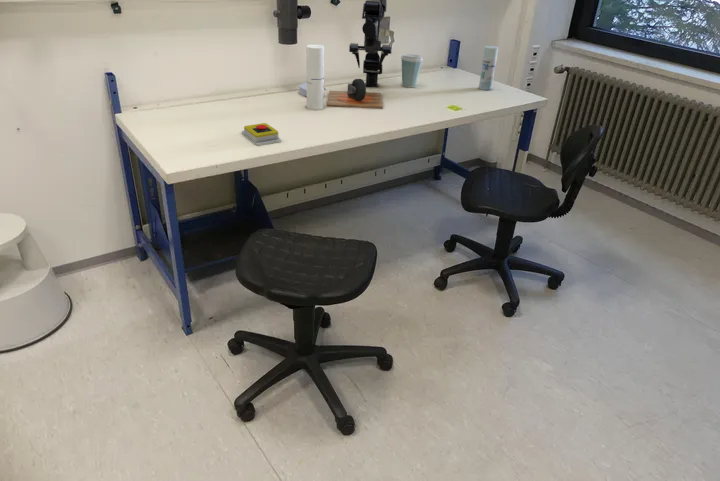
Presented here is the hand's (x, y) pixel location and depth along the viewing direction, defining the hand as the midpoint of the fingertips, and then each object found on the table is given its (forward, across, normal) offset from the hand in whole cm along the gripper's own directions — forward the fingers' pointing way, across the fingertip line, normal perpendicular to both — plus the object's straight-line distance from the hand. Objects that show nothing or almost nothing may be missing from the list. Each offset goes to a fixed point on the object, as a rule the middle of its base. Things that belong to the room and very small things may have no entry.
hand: (369, 68), depth 243 cm
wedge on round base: (+12, -26, -4) cm, 29 cm away
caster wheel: (+11, -6, -10) cm, 16 cm away
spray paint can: (+12, +59, +20) cm, 63 cm away
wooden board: (+12, -6, -10) cm, 17 cm away
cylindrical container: (+12, -23, -23) cm, 35 cm away
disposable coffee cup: (+12, +21, +19) cm, 31 cm away
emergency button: (+12, -40, -62) cm, 75 cm away
